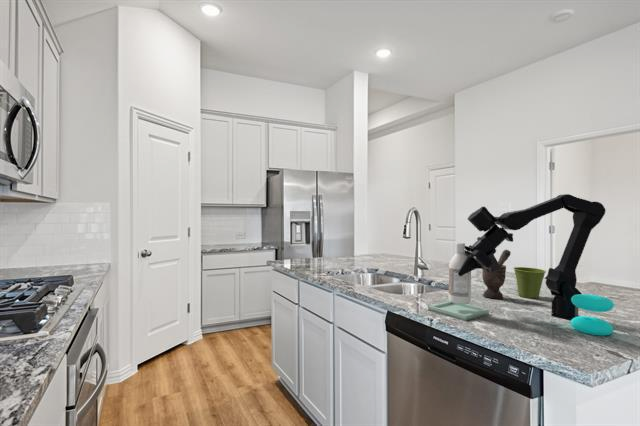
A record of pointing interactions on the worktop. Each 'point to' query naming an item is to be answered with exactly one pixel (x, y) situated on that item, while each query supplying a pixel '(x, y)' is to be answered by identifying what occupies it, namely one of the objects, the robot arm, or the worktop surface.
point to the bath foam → (459, 278)
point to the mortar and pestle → (495, 278)
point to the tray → (458, 310)
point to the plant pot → (529, 281)
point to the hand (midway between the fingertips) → (455, 273)
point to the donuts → (592, 323)
